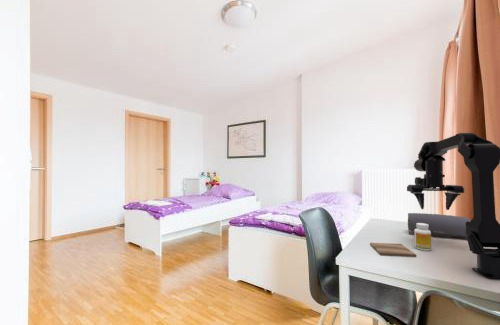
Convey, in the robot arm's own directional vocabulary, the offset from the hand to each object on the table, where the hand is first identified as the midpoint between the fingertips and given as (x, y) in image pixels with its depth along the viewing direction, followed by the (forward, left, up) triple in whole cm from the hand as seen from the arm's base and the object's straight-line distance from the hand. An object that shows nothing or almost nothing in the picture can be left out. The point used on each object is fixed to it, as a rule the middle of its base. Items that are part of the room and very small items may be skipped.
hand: (434, 209), depth 101 cm
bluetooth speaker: (+14, -8, -15) cm, 22 cm away
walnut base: (-10, +21, -15) cm, 28 cm away
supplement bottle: (-6, +8, -15) cm, 18 cm away
